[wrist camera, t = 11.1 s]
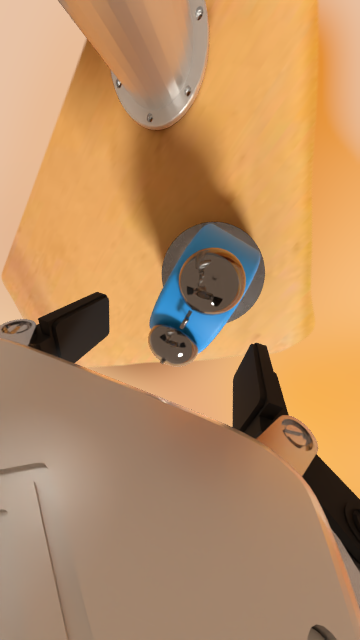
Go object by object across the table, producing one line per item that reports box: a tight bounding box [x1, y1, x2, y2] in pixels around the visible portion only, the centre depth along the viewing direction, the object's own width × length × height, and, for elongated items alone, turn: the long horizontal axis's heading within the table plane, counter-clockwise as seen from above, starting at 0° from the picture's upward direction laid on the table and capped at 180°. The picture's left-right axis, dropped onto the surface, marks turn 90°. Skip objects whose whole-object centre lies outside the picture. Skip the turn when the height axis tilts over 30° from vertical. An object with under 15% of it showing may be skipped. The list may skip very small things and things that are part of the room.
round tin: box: [162, 222, 265, 323], centre depth 28 cm, size 15×15×6 cm
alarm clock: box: [148, 224, 261, 366], centre depth 19 cm, size 13×6×15 cm, turn 154°
